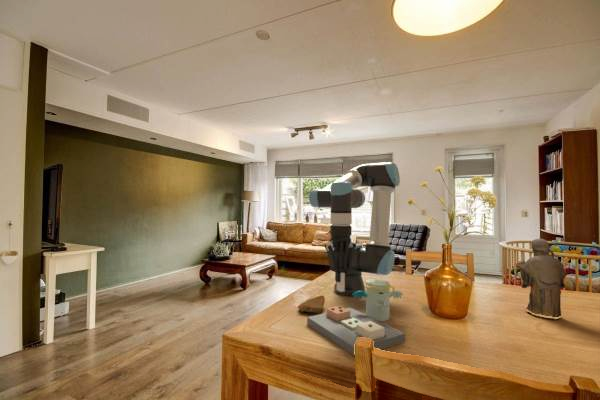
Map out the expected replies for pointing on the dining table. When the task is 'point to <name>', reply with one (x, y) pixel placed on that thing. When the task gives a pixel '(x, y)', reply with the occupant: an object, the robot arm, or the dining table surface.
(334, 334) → the button board
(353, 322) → the tile two
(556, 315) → the sculpture
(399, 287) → the dining table surface
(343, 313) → the tile three
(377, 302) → the character sculpture
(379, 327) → the tile one
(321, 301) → the artifact
